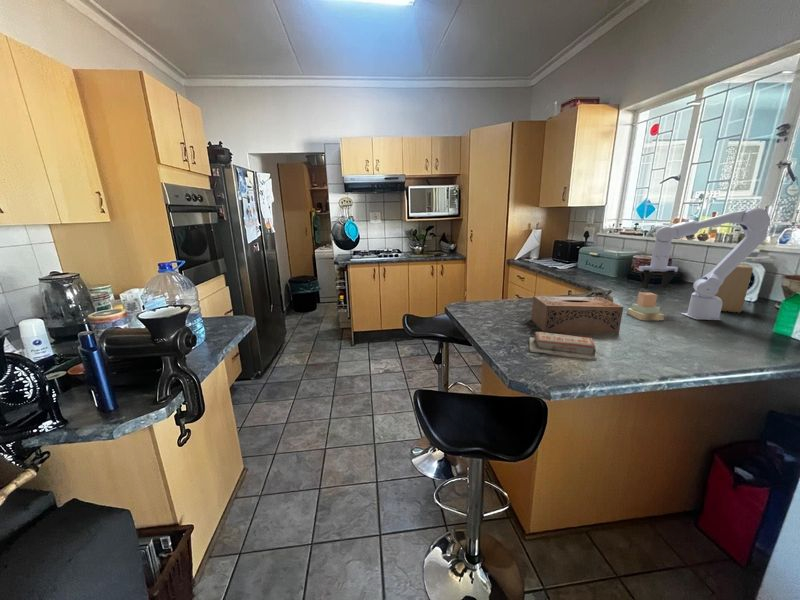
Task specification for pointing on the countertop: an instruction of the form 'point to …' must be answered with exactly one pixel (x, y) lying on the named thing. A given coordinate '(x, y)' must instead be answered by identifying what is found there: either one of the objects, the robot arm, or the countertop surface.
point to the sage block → (645, 309)
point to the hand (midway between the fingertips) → (654, 287)
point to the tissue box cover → (576, 314)
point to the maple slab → (645, 315)
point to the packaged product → (563, 345)
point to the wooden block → (735, 288)
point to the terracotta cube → (646, 299)
